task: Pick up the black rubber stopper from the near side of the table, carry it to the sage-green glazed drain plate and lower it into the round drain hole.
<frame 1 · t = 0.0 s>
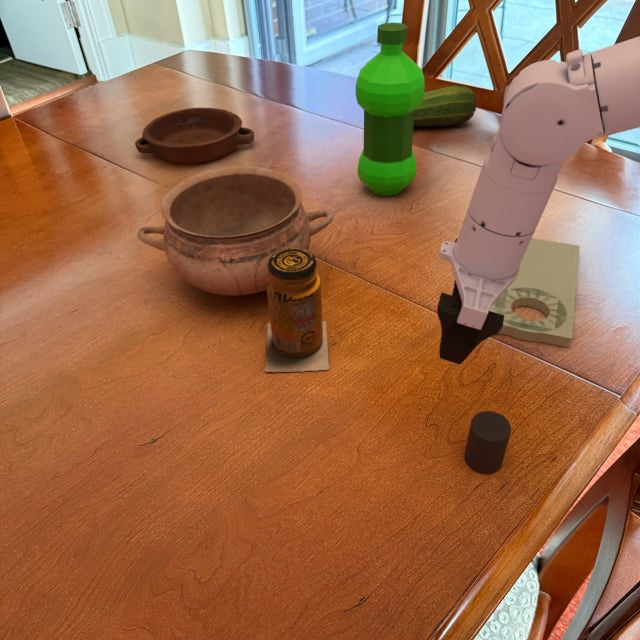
hand: (456, 332, 59), 9 cm above the table, tool pointing down, fingers open, 7 cm apart
condiment: (296, 348, 71), on the table
stopper: (483, 458, 58), on the table
vegetable: (422, 126, 119), on the table
dish: (197, 150, 114), on the table
plastic bottle: (386, 189, 100), on the table
drain plate: (532, 289, 78), on the table
cooking pot: (244, 279, 82), on the table
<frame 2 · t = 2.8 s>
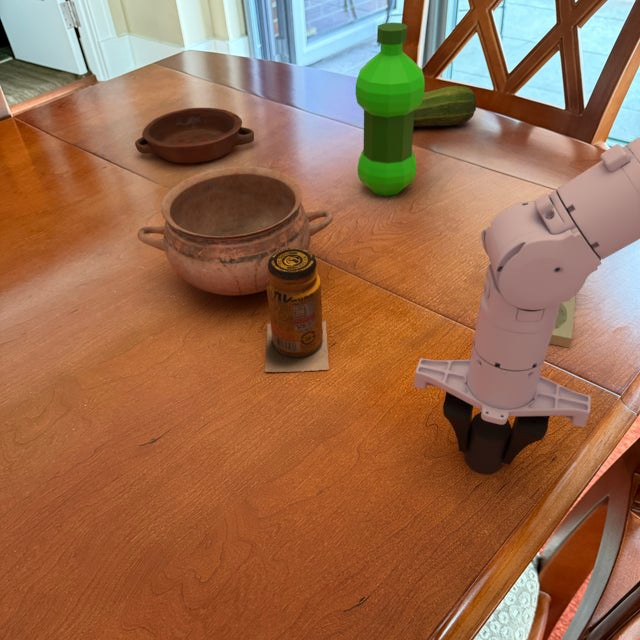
hand: (485, 449, 57), 1 cm above the table, tool pointing down, fingers closed on stopper, 3 cm apart
stopper: (483, 458, 58), on the table, touching gripper
everything else where it was.
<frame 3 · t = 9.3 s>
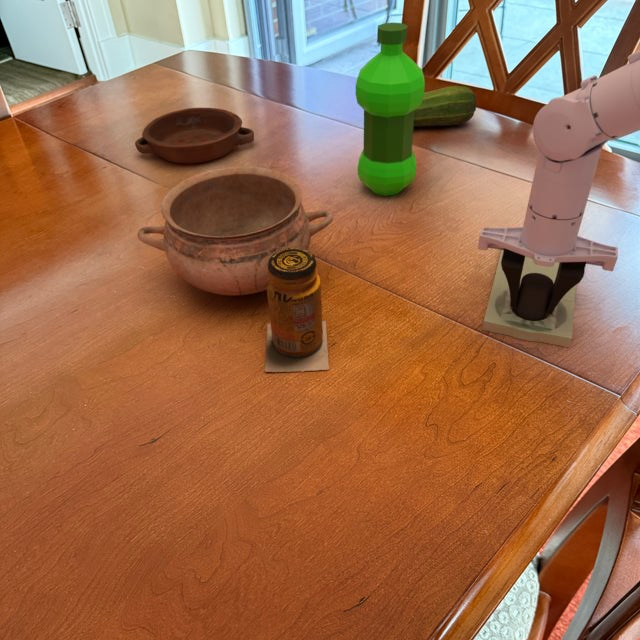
hand: (531, 305, 72), 2 cm above the table, tool pointing down, fingers closed on stopper, 3 cm apart
stopper: (529, 314, 73), point 1 cm above the table, touching gripper
everything else where it was.
when the fingers open (2 cm above the table, at t = 11.6 s): stopper stays where it is, resting in drain plate.
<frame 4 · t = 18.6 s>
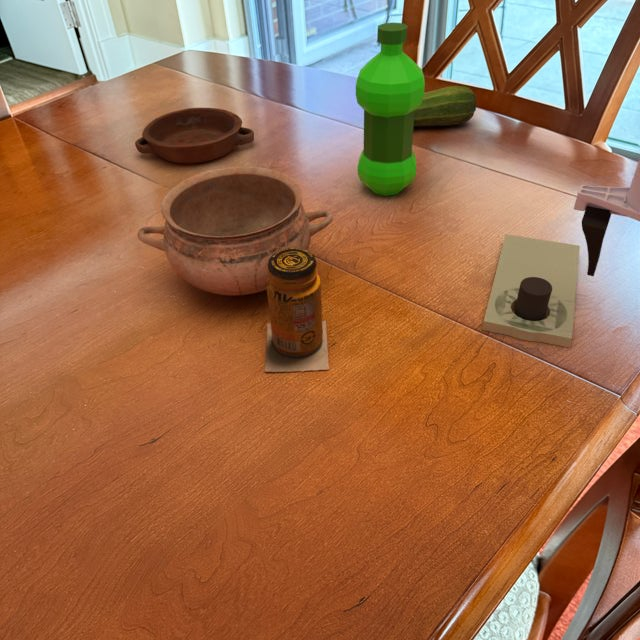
hand: (629, 279, 64), 9 cm above the table, tool pointing down, fingers open, 7 cm apart
stopper: (528, 318, 74), resting in drain plate
everything else where it was.
at the end: stopper 0.1 cm from the target spot in the drain plate, point 0.0 cm above the drain plate's base; stopper tilted 0°; the gripper is holding nothing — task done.
